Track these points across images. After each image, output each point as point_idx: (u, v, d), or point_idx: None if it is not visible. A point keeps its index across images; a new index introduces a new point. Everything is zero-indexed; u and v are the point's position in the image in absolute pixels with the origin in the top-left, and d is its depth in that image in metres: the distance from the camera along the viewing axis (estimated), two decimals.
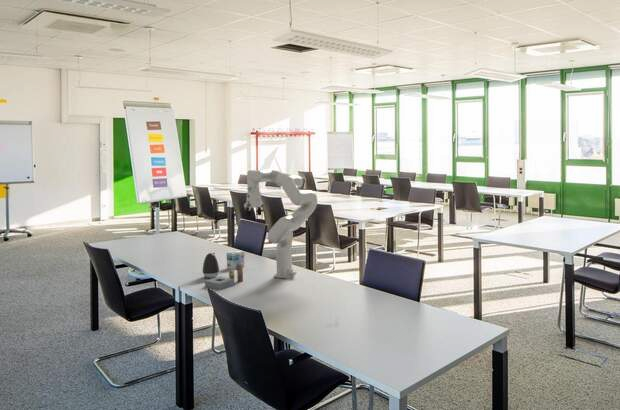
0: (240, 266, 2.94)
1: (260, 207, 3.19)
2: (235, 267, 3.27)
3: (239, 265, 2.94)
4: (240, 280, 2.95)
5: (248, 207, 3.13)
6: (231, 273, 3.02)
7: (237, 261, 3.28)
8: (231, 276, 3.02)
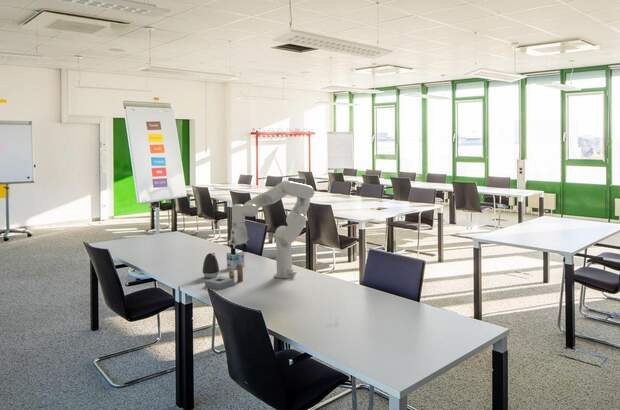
0: (240, 266, 2.94)
1: (245, 243, 2.97)
2: (235, 267, 3.27)
3: (239, 265, 2.94)
4: (240, 280, 2.95)
5: (232, 244, 2.91)
6: (231, 273, 3.02)
7: (237, 261, 3.28)
8: (231, 276, 3.02)
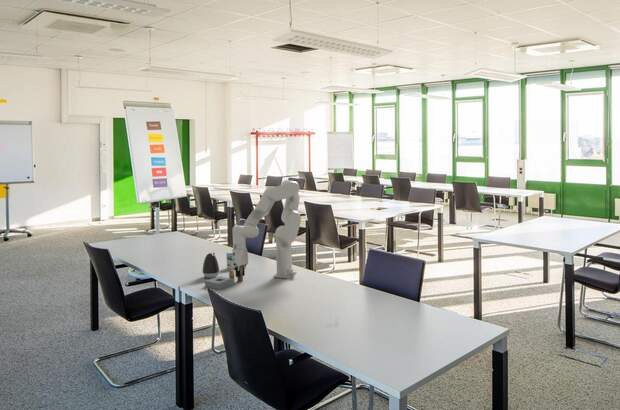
0: (240, 266, 2.94)
1: (244, 266, 2.97)
2: None
3: None
4: (240, 280, 2.95)
5: (236, 266, 2.94)
6: (231, 273, 3.02)
7: None
8: (231, 276, 3.02)
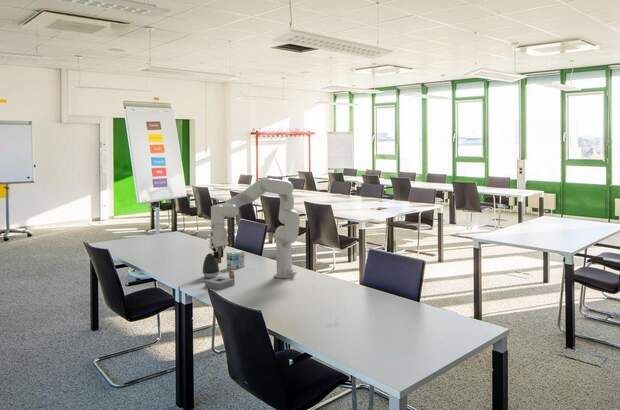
0: (218, 247, 2.83)
1: (222, 248, 2.86)
2: (235, 267, 3.27)
3: None
4: (218, 261, 2.84)
5: (214, 247, 2.83)
6: (231, 273, 3.02)
7: (237, 261, 3.28)
8: (231, 276, 3.02)
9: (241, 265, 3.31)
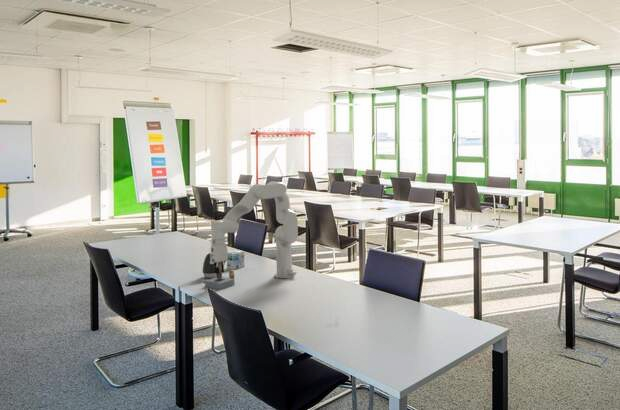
0: (219, 262, 2.84)
1: (223, 263, 2.87)
2: (235, 267, 3.27)
3: None
4: (219, 277, 2.85)
5: (215, 262, 2.84)
6: (231, 273, 3.02)
7: (237, 261, 3.28)
8: (231, 276, 3.02)
9: (241, 265, 3.31)
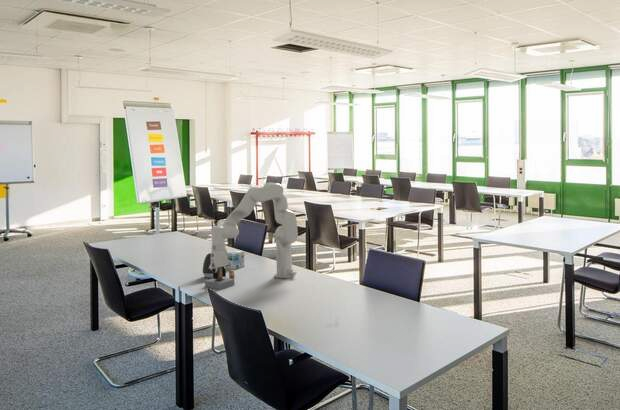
0: (219, 270, 2.85)
1: (225, 267, 2.88)
2: (235, 267, 3.27)
3: (218, 269, 2.85)
4: None
5: (214, 268, 2.84)
6: (231, 273, 3.02)
7: (237, 261, 3.28)
8: (231, 276, 3.02)
9: (241, 265, 3.31)
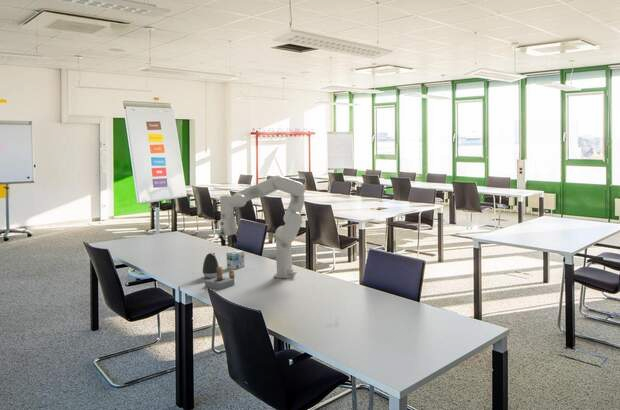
0: (219, 270, 2.85)
1: (235, 234, 2.97)
2: (235, 267, 3.27)
3: (218, 269, 2.85)
4: None
5: (222, 235, 2.91)
6: (231, 273, 3.02)
7: (237, 261, 3.28)
8: (231, 276, 3.02)
9: (241, 265, 3.31)
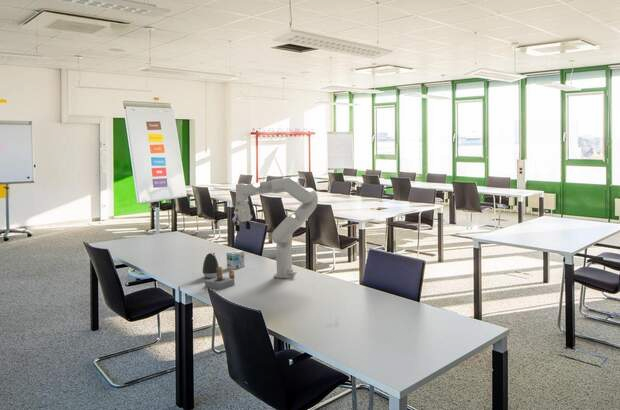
0: (219, 270, 2.85)
1: (249, 221, 3.13)
2: (235, 267, 3.27)
3: (218, 269, 2.85)
4: None
5: (237, 221, 3.07)
6: (231, 273, 3.02)
7: (237, 261, 3.28)
8: (231, 276, 3.02)
9: (241, 265, 3.31)
